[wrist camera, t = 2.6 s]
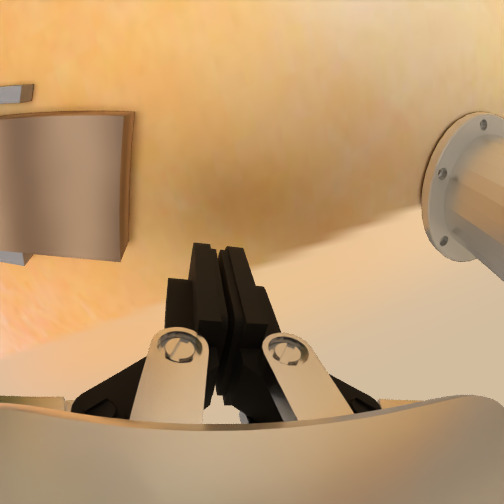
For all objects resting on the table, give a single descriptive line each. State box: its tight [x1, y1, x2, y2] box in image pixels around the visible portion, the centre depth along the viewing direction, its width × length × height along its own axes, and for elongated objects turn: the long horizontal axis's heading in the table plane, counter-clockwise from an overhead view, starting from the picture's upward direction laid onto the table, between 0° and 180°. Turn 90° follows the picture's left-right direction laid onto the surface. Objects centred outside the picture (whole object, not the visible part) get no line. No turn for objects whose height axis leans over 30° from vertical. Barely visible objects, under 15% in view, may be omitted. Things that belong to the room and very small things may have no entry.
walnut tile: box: [0, 111, 135, 262], centre depth 15 cm, size 11×8×3 cm
